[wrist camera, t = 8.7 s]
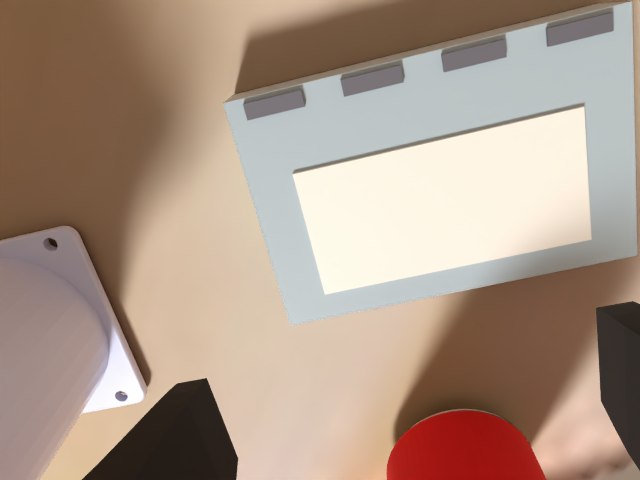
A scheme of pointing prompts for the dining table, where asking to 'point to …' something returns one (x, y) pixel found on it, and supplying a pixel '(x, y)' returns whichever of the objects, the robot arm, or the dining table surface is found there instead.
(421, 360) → the dining table surface
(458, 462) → the beverage can
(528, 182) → the pad
